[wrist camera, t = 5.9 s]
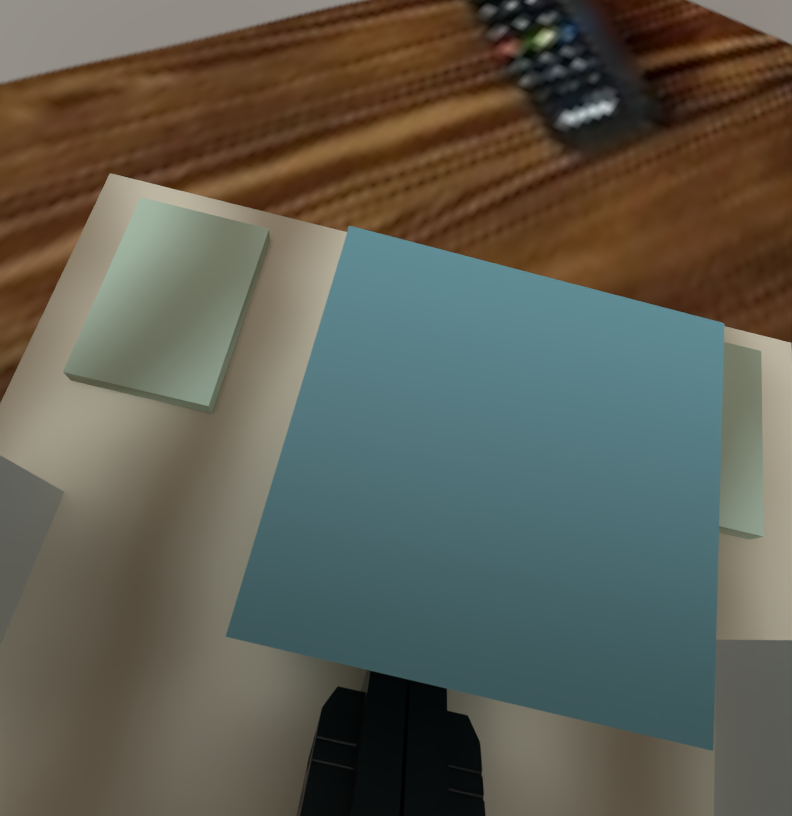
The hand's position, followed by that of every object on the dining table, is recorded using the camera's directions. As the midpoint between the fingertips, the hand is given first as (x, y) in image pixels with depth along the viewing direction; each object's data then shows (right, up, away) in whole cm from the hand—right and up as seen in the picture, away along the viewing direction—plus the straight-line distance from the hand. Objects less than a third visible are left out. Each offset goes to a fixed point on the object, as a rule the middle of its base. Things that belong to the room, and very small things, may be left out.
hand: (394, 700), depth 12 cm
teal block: (+1, +2, +5) cm, 5 cm away
